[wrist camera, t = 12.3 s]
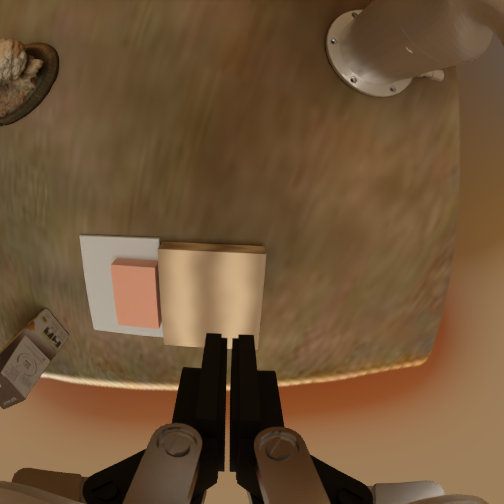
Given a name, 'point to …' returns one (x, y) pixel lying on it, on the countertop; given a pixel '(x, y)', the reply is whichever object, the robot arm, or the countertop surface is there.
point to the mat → (100, 278)
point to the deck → (210, 291)
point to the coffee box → (28, 357)
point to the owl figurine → (24, 77)
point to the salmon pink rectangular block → (137, 292)
